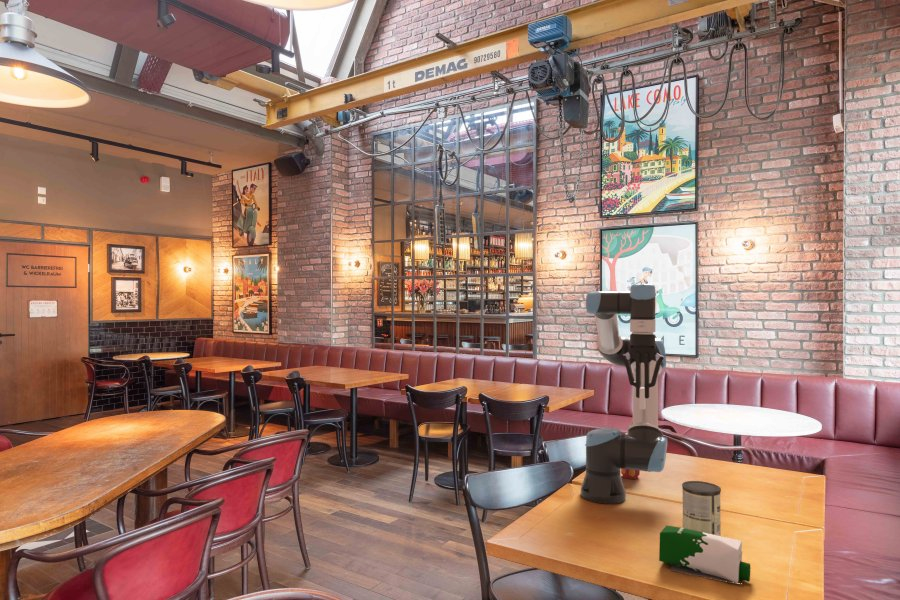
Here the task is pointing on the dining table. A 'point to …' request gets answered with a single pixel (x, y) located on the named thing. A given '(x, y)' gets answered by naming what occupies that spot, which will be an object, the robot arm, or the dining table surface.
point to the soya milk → (703, 553)
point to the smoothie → (630, 472)
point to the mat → (698, 573)
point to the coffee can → (701, 507)
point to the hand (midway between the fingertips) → (642, 408)
